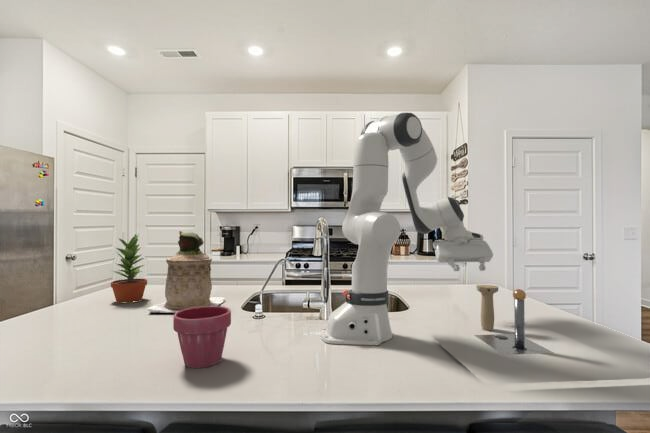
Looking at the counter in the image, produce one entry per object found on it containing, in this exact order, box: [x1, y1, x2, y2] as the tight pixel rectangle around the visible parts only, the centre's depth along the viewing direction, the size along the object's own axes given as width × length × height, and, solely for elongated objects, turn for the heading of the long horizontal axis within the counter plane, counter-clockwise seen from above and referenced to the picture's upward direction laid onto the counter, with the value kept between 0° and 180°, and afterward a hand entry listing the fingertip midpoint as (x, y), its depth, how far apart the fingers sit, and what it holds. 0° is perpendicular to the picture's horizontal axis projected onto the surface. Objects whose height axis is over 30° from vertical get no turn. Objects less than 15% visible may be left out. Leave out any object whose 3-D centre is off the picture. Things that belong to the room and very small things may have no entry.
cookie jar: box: [146, 230, 226, 314], centre depth 154 cm, size 25×25×32 cm
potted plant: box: [110, 233, 148, 303], centre depth 165 cm, size 15×15×30 cm
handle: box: [476, 284, 499, 332], centre depth 117 cm, size 5×6×15 cm
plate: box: [473, 333, 555, 355], centre depth 104 cm, size 14×16×1 cm
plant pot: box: [172, 305, 232, 369], centre depth 95 cm, size 14×14×13 cm
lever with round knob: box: [512, 288, 527, 350], centre depth 100 cm, size 3×3×16 cm
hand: (470, 270), depth 129 cm, fingers open, 8 cm apart
